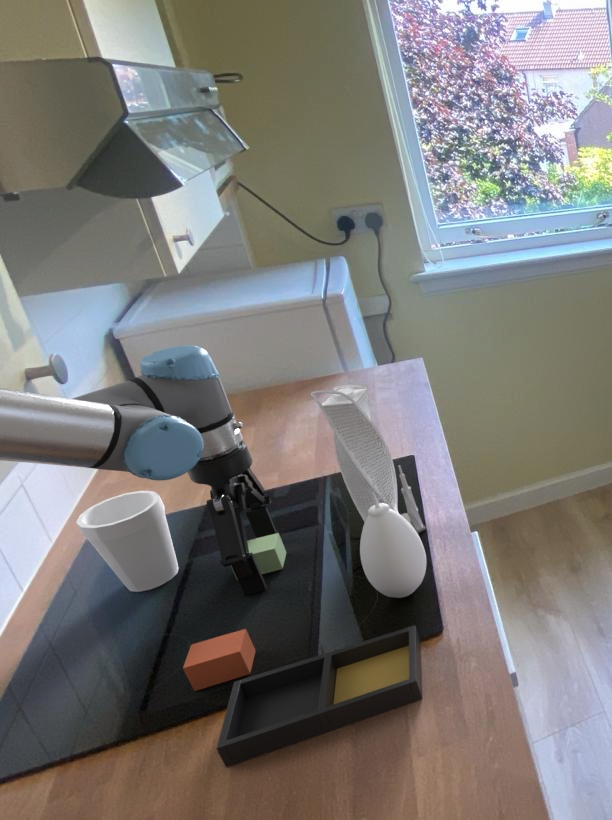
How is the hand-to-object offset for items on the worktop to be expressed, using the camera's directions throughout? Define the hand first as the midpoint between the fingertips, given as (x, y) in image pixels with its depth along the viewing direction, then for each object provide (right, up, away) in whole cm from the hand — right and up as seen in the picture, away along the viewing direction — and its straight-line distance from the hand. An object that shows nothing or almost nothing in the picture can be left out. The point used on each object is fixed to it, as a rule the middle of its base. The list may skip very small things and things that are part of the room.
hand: (263, 565), depth 116 cm
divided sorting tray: (+26, -10, -24) cm, 37 cm away
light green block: (0, 0, 0) cm, 0 cm away
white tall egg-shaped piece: (+26, -3, -6) cm, 27 cm away
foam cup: (-16, -2, -2) cm, 16 cm away
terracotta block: (+9, -9, -19) cm, 23 cm away
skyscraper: (+16, +3, +7) cm, 18 cm away
